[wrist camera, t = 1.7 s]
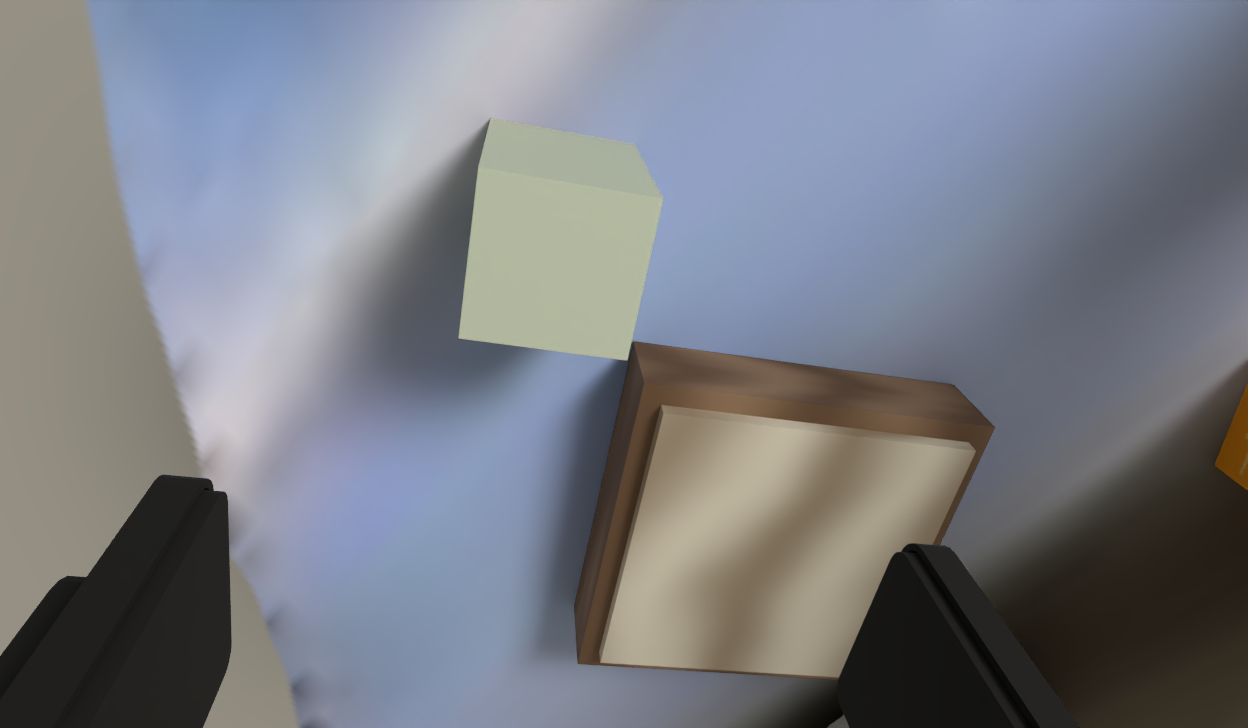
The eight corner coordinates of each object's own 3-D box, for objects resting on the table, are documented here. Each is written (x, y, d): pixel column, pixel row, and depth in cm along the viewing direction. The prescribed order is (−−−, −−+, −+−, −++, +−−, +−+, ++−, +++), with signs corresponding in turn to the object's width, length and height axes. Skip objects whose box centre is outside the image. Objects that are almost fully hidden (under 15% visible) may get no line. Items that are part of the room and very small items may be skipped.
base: (953, 385, 34) (1003, 435, 30) (849, 626, 40) (880, 692, 36) (633, 341, 31) (646, 391, 28) (574, 606, 37) (578, 675, 34)
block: (634, 143, 28) (663, 198, 22) (607, 276, 30) (627, 360, 24) (490, 117, 27) (478, 167, 21) (474, 256, 29) (458, 338, 23)
